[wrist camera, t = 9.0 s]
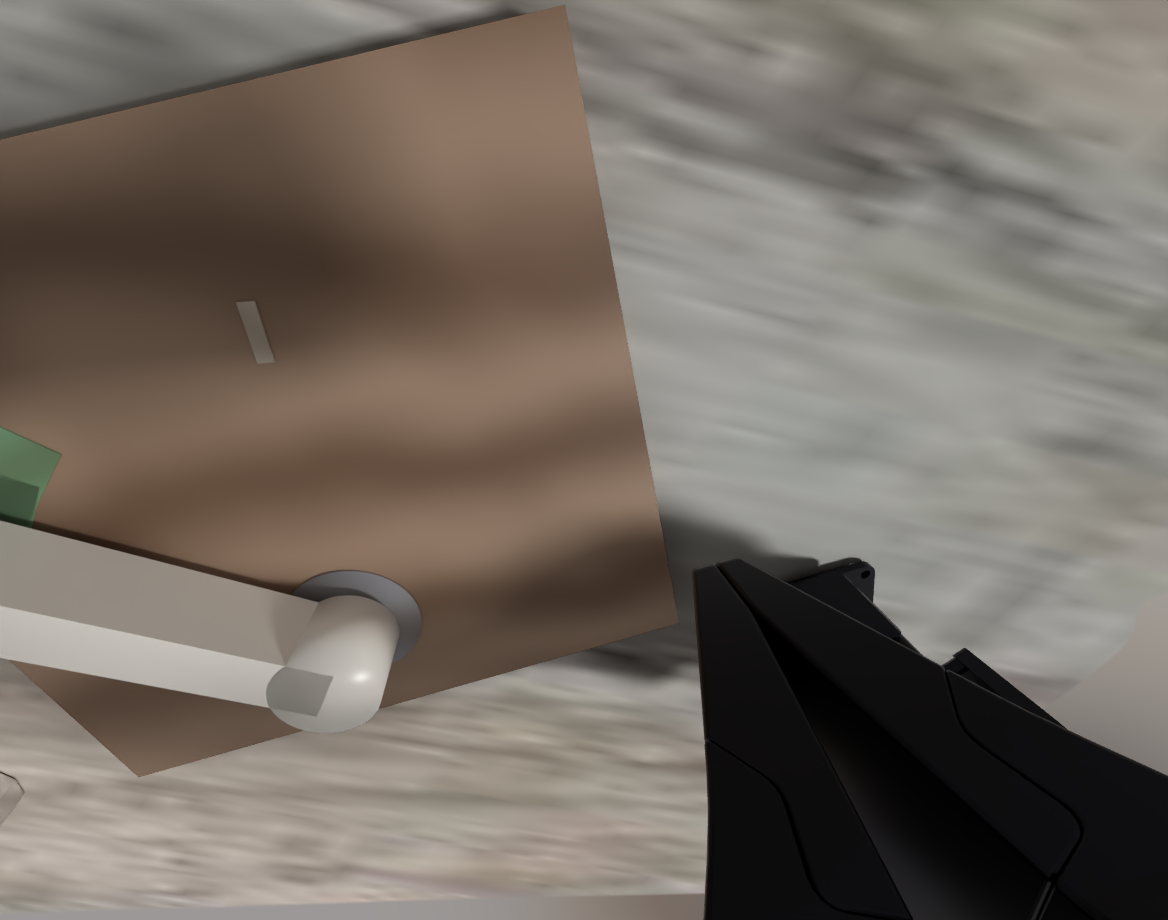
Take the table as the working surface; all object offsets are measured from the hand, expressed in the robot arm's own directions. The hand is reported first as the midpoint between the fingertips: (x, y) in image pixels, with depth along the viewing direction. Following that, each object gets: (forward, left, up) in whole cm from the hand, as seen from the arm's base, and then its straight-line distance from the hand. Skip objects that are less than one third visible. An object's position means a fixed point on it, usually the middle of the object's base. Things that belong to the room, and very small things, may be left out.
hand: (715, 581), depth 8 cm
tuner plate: (0, +11, -11) cm, 16 cm away
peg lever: (-2, +17, -9) cm, 19 cm away
